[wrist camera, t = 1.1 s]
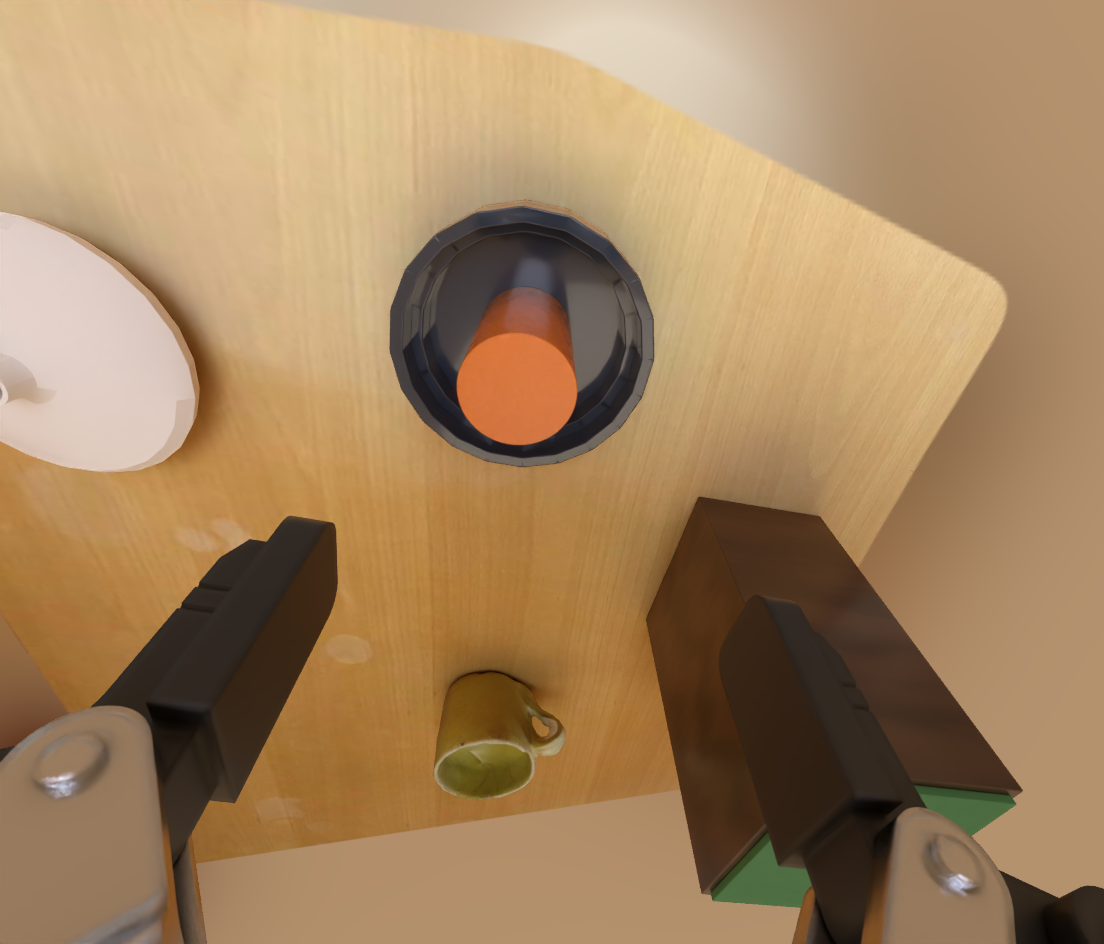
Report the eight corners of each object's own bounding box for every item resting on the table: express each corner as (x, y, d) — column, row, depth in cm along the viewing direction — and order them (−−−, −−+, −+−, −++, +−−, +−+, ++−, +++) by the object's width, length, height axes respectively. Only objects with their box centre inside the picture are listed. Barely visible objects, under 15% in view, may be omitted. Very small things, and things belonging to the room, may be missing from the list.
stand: (698, 496, 38) (816, 768, 21) (820, 516, 39) (1024, 791, 22) (645, 619, 45) (701, 894, 29) (748, 633, 46) (861, 906, 30)
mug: (447, 749, 53) (442, 835, 44) (428, 666, 51) (419, 738, 41) (558, 723, 55) (577, 800, 45) (546, 641, 52) (563, 705, 43)
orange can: (485, 277, 29) (462, 321, 21) (580, 296, 30) (589, 346, 22) (475, 368, 32) (451, 435, 24) (561, 383, 32) (563, 453, 25)
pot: (415, 174, 27) (392, 177, 23) (672, 230, 28) (691, 242, 24) (405, 413, 34) (387, 445, 30) (608, 448, 36) (615, 482, 32)
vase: (273, 393, 33) (214, 445, 28) (114, 482, 37) (31, 544, 31) (56, 142, 26) (-92, 139, 20) (-117, 285, 30) (-285, 318, 24)
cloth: (820, 774, 21) (824, 784, 21) (1010, 794, 22) (1017, 804, 22) (710, 892, 28) (712, 901, 28) (858, 903, 29) (862, 912, 29)
